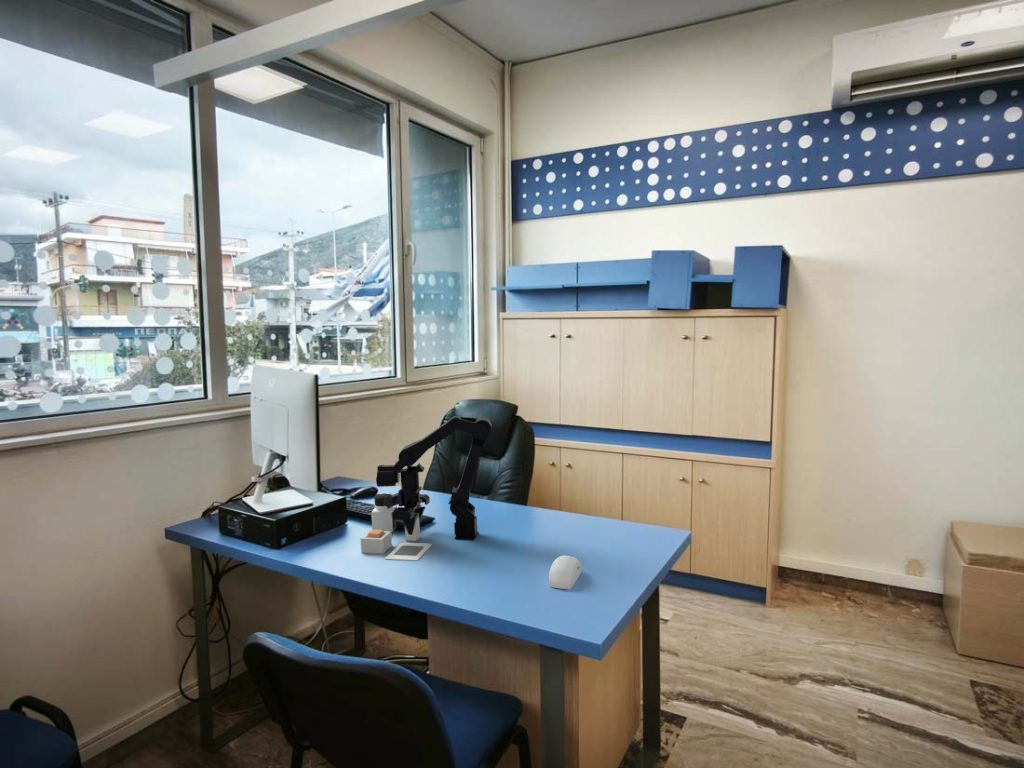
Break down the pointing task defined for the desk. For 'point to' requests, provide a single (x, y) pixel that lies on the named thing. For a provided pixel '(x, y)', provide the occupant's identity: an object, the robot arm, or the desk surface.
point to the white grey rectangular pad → (408, 551)
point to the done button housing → (376, 543)
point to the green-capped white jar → (414, 531)
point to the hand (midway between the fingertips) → (412, 532)
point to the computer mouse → (564, 572)
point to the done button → (375, 533)
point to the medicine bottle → (383, 514)
